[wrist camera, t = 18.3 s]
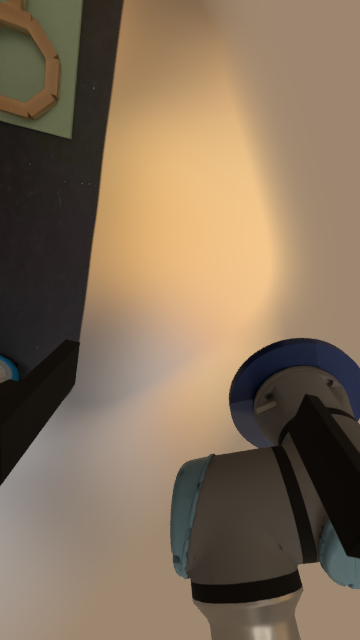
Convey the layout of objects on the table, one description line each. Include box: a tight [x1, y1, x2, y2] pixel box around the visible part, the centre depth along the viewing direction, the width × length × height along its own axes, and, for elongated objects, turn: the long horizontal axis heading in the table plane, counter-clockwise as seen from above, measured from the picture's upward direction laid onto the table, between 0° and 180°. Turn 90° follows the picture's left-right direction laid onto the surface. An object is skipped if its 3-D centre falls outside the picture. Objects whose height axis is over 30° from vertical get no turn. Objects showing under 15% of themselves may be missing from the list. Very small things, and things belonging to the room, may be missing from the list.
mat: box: [0, 0, 83, 139], centre depth 30 cm, size 22×12×1 cm, turn 167°
